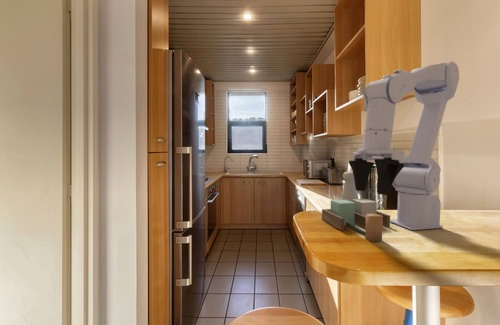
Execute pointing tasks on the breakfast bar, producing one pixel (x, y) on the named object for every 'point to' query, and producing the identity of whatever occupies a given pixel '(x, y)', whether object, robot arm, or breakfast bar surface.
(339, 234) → the breakfast bar surface
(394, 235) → the breakfast bar surface
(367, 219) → the tethered block
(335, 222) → the walnut rack
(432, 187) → the robot arm
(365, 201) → the grey block
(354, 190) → the salt shaker
